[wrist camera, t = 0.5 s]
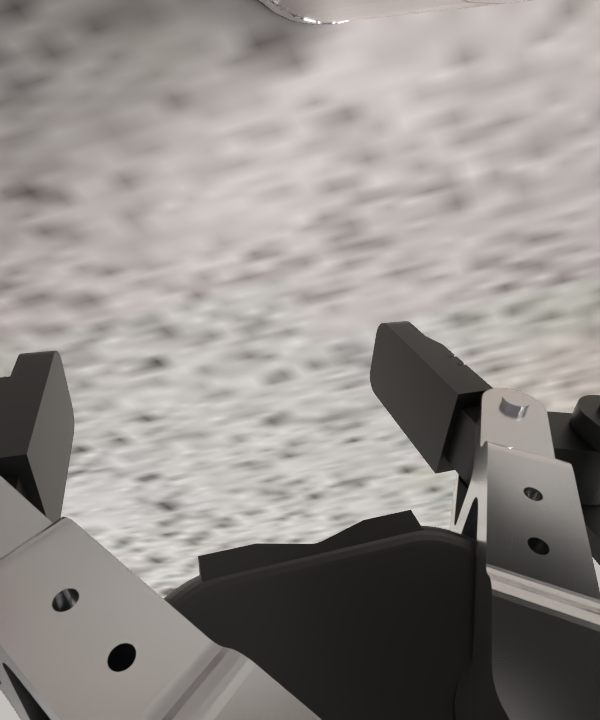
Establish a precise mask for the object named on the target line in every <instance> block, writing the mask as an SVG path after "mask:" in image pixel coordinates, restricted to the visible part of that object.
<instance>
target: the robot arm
mask: <svg viewBox="0 0 600 720" xmlns="http://www.w3.org/2000/svg"><path fill="white" fill-rule="evenodd" d="M259 1H260V2H262V3H263V4H264V5H266V6H267V7H268V8H269V9H271V10H272V11H273V12H275V13H276V14H279V15H281V16H283V17H285V18H287V19H290V20H292V21H295V22H301V23H307V24H335V23H341V22H346V21H354V20H363V19H372V18H380V17H389V16H398V15H407V14H416V13H425V12H434V11H443V10H452V9H460V8H469V7H478V6H487V5H496V4H502V3H512V2H520V1H529V0H259ZM370 381H371V386H372V389H373V391H374V393H375V395H376V396H377V397H378V399H379V400H380V401H381V403H382V404H383V405H384V407H385V408H386V409H387V411H388V412H389V413H390V414H391V416H392V417H393V418H394V420H395V421H396V422H397V424H398V425H399V426H400V428H401V429H402V430H403V431H404V433H405V434H406V435H407V437H408V438H409V439H410V441H411V442H412V443H413V445H414V446H415V447H416V449H417V450H418V451H419V452H420V454H421V455H422V456H423V458H424V459H425V460H426V462H427V463H428V464H429V466H430V467H431V468H432V470H433V471H434V472H435V473H441V472H446V471H451V470H456V472H457V473H458V474H457V477H456V480H455V484H454V493H453V503H452V513H451V523H450V530H446V529H441V528H436V527H429V526H421V525H420V524H419V522H418V521H417V519H416V518H415V516H414V514H413V513H412V511H411V510H408V511H404V512H399V513H394V514H390V515H385V516H381V517H376V518H371V519H367V520H363V521H361V522H359V523H357V524H355V525H353V526H351V527H349V528H347V529H345V530H343V531H341V532H339V533H338V534H336V535H334V536H332V537H330V538H328V539H326V540H324V541H322V542H319V543H316V544H252V545H248V546H243V547H238V548H234V549H229V550H225V551H220V552H216V553H211V554H206V555H202V556H198V560H199V573H200V575H199V576H197V577H195V578H193V579H191V580H189V581H187V582H186V583H184V584H183V585H181V586H179V587H178V588H176V589H175V590H174V591H172V592H171V593H170V594H169V595H167V596H166V597H165V598H164V599H163V598H162V597H161V596H159V595H158V594H157V593H156V592H155V591H154V590H153V589H151V588H150V587H149V586H148V585H147V584H146V583H144V582H143V581H142V580H141V579H140V578H139V577H138V576H136V575H135V574H134V573H133V572H132V571H131V570H129V569H128V568H127V567H126V566H125V565H124V564H123V563H121V562H120V561H119V560H118V559H117V558H116V557H114V556H113V555H112V554H111V553H110V552H109V551H108V550H106V549H105V548H104V547H103V546H102V545H101V544H99V543H98V542H97V541H96V540H95V539H94V538H92V537H91V536H90V535H89V534H88V533H87V532H86V531H84V530H83V529H82V528H81V527H80V526H79V525H77V524H76V523H75V522H74V521H73V520H71V519H69V518H67V517H61V510H62V504H63V498H64V492H65V485H66V479H67V473H68V467H69V460H70V454H71V448H72V441H73V435H74V415H73V408H72V403H71V399H70V395H69V391H68V386H67V382H66V378H65V373H64V369H63V365H62V361H61V357H60V355H59V353H58V351H47V352H36V353H24V354H20V355H19V356H18V359H17V361H16V364H15V366H14V369H13V371H12V374H11V376H10V377H2V378H0V690H1V691H2V692H3V694H4V695H5V697H6V698H7V699H8V701H9V702H10V704H11V705H12V707H13V708H14V709H15V711H16V713H17V714H18V716H19V718H20V719H21V720H600V591H599V587H598V582H597V577H596V573H595V569H594V564H593V559H592V557H593V558H594V559H595V560H596V561H597V562H598V564H599V565H600V396H599V395H587V396H584V397H581V398H580V399H579V401H578V403H577V405H576V407H575V409H574V412H573V413H560V412H547V411H546V409H545V407H544V406H543V405H542V404H541V403H540V402H539V401H538V400H536V399H535V398H533V397H531V396H530V395H528V394H525V393H523V392H520V391H517V390H513V389H508V388H492V387H491V386H490V385H489V384H487V383H486V382H485V381H484V380H483V379H482V378H481V377H479V376H478V375H477V374H476V373H475V372H474V371H473V370H471V369H470V368H469V367H468V366H467V365H464V363H463V362H462V361H461V360H460V359H459V358H458V357H454V354H453V353H452V352H451V351H449V350H448V349H447V348H446V347H445V346H444V345H442V344H440V343H438V342H436V341H434V340H432V339H430V338H428V337H426V336H425V335H424V334H422V333H421V332H420V331H419V330H418V329H417V328H416V327H415V326H413V325H412V324H411V323H410V322H408V321H403V322H391V323H382V324H380V326H379V327H378V329H377V333H376V339H375V346H374V352H373V358H372V364H371V370H370ZM60 517H61V518H60Z"/></svg>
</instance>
